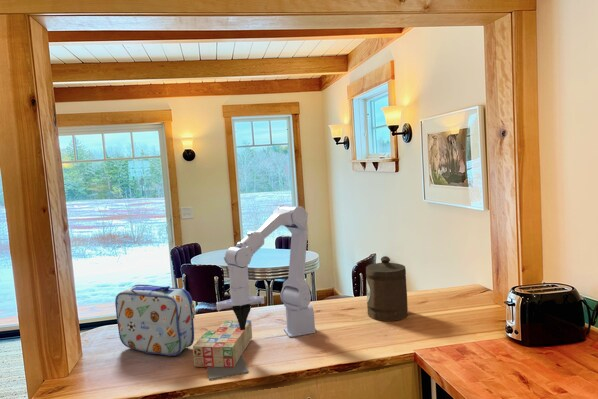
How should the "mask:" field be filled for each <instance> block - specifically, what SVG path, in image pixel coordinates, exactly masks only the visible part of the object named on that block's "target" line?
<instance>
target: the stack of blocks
mask: <svg viewBox="0 0 598 399" xmlns="http://www.w3.org/2000/svg"><path fill="white" fill-rule="evenodd" d="M252 339H253V329H252V320H251V319H250V320H248V319H247V320H246V325H245V330H240V327H239V323H238V320H225V321H223V323H222V324H221V325H220V326H219V327H218V329H216V330H206V332H204V334H203V335H202V336H201V337H200V338H199V339H198V340H197V341H196V342H195V344H194V345H193V346H192V349H193V350H192V353H193V366H194V367H203V368H207V367H234V366H235V364H236V363H237V361H238V360H239V357H240V356H241V355H242V354H243V353H244V351H245V350H246V348H247V347H248V345H249V344H250V342H251V341H252ZM242 356H243V355H242Z"/></svg>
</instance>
